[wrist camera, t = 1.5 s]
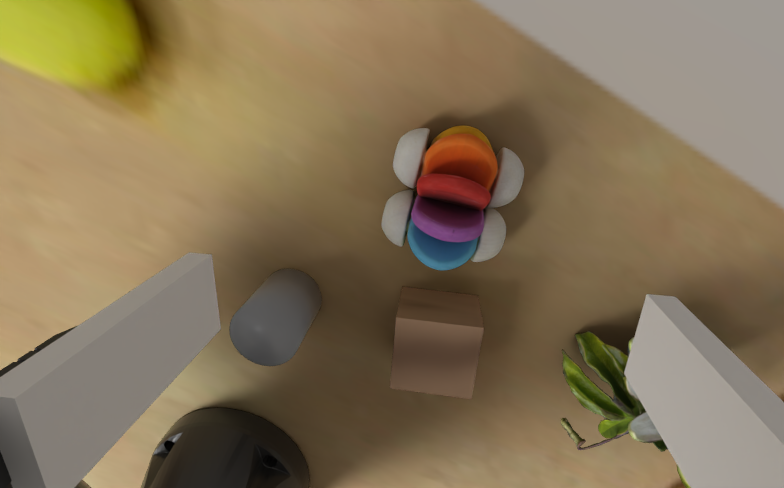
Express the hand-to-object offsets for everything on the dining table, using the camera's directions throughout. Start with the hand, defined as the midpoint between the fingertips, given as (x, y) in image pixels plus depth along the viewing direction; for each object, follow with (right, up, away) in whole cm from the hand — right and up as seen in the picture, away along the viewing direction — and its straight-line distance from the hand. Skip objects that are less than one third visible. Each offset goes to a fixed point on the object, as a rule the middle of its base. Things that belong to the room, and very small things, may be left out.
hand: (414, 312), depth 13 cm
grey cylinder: (-9, -2, +22) cm, 24 cm away
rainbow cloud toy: (+3, +6, +18) cm, 19 cm away
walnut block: (+3, -4, +22) cm, 22 cm away
